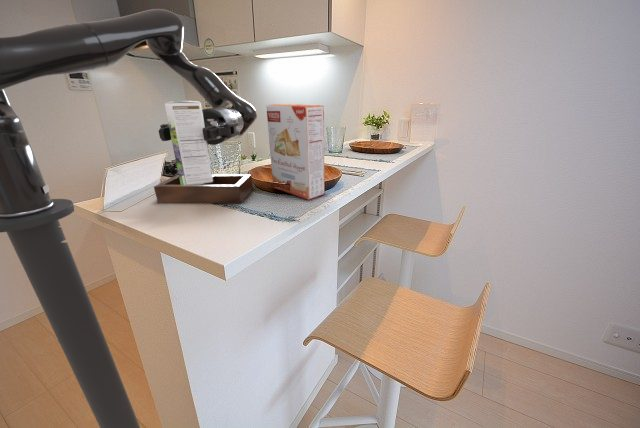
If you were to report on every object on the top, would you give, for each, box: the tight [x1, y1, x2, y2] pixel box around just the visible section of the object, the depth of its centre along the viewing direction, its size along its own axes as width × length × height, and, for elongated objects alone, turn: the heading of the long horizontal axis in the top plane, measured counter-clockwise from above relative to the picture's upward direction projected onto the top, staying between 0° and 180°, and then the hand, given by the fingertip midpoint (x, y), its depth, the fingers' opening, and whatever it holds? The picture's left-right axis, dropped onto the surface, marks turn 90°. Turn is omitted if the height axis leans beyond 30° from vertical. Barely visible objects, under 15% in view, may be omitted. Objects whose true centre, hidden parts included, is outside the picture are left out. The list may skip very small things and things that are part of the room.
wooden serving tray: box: [153, 174, 254, 204], centre depth 70 cm, size 20×11×4 cm, turn 88°
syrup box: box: [164, 100, 213, 186], centre depth 53 cm, size 6×6×14 cm
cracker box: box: [265, 103, 326, 201], centre depth 69 cm, size 14×6×21 cm, turn 45°
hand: (183, 134), depth 50 cm, fingers closed on syrup box, 7 cm apart
